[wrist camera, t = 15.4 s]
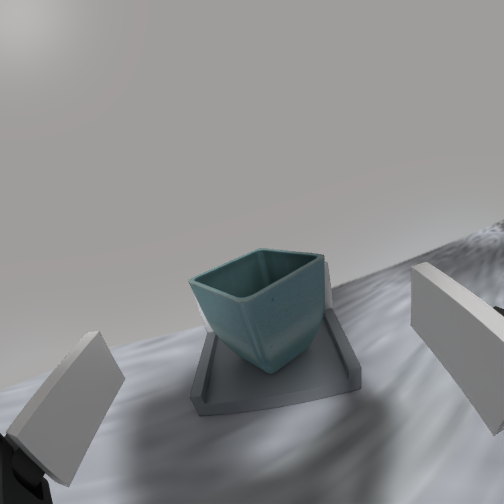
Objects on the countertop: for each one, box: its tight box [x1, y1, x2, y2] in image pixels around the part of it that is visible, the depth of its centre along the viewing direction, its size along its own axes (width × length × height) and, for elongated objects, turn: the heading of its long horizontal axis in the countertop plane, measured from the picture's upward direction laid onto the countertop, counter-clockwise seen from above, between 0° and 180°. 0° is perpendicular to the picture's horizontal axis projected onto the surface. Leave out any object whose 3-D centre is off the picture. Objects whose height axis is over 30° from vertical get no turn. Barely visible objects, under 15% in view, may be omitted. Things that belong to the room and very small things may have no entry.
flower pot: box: [188, 248, 325, 374], centre depth 25 cm, size 9×9×9 cm
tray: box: [190, 262, 361, 416], centre depth 26 cm, size 15×12×8 cm
